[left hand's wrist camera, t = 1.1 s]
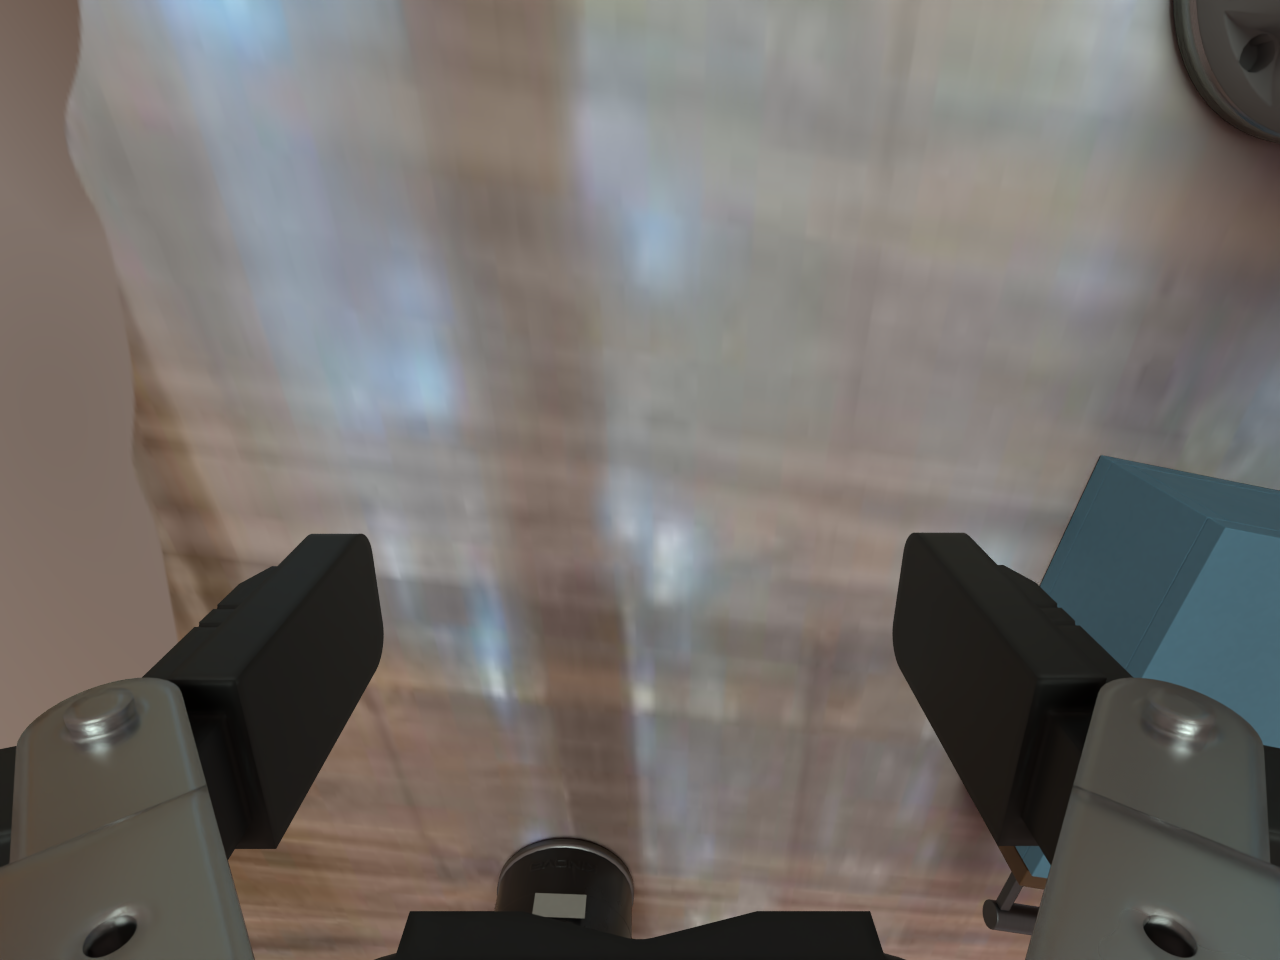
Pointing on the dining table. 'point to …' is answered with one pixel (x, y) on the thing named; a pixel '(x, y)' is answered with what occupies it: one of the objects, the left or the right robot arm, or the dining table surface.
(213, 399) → the dining table surface
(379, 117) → the dining table surface
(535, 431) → the dining table surface
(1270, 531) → the blue box
